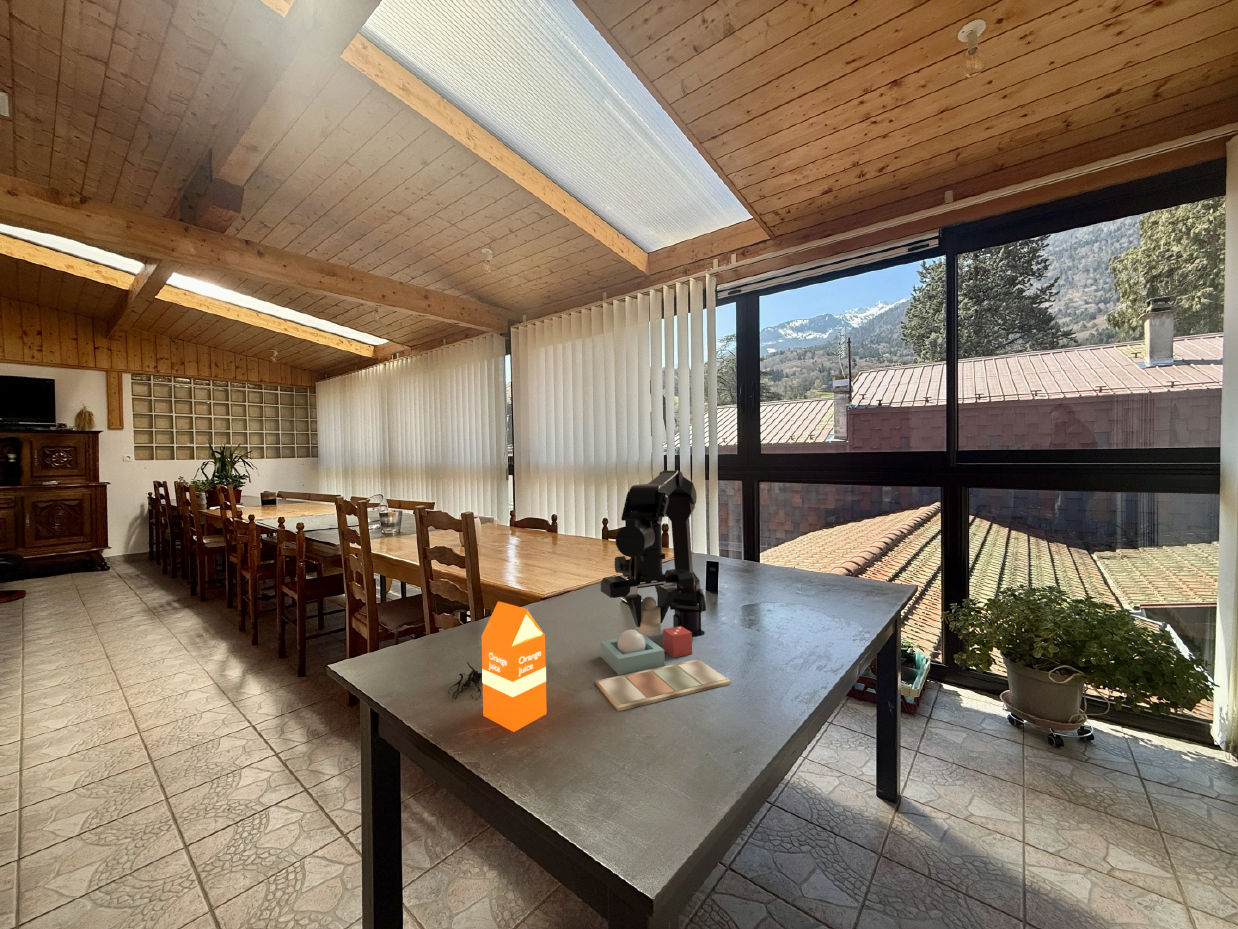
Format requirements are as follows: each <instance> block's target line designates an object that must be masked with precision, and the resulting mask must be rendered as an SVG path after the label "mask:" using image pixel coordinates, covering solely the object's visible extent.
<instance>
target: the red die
mask: <svg viewBox="0 0 1238 929" xmlns="http://www.w3.org/2000/svg"><path fill="white" fill-rule="evenodd" d="M662 649H664V652H665V653H667V654H668V655H669V656H671V657H672V658H678V657H681V656H682V657H683V656H688V655H692V654H693V636H692V632H690V631H688V630H687V629H685V628H683V627H682V626H678V627H673V626H672V627H668V628H663V629H662Z"/></svg>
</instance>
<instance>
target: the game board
mask: <svg viewBox="0 0 1238 929" xmlns="http://www.w3.org/2000/svg"><path fill="white" fill-rule="evenodd" d="M594 683H595V685H596V686H597V687H598V689H599V690H600V691H601V693H603V695H604V696H605V697H606V698H607V700H608V701H609V702H610V703H611V705H612V706H614V708H615V709H616V710H617V712H620V711H624V710H628V709H629V710H630V709H632V708H638V707H642V706H646V705H649V704H653V703H659V702H662V701H665V700H671V699H674V698H678V697H682V696H686V695H691V694H695V693H699V692H704V691H707V690H712V689H717V688H719V687H724V686H728V685H731V684H732V680H731V679H729V678H728V677H726V676H725V675H723V674H721V673H720V672H719V671H717V670H716V669H714V668H713V667H711V666H710V665H708V664H707V663H706V662H703V661H702V660H701V659H700V658H698V659H691V660H689V661H683V662H678V663H673V664H670V665H665V666H661V667H656V668H651V669H647V670H642V671H637V672H632V673H628V674H623V675H617V676H613V677H612V676H611V677H608V678H603V679H602V678H601V679H598V680H595V681H594Z"/></svg>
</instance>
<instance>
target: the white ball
mask: <svg viewBox="0 0 1238 929" xmlns="http://www.w3.org/2000/svg"><path fill="white" fill-rule="evenodd" d="M618 638H619V639H618V650H619V651H620V652H621V653H622V654H623V655H624V654H629V653H634V652H639V651H644V650H645V646H646V643H645V639H644V637H643V635H642V634H640V633H639V632H638V630H636V629H627V630H625V631H623V632H622V633H621V634H620V636H619V637H618Z"/></svg>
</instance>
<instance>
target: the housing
mask: <svg viewBox="0 0 1238 929" xmlns="http://www.w3.org/2000/svg"><path fill="white" fill-rule="evenodd" d="M642 635H643V634H642ZM643 637H644V639H645V643H646V646H645V650H644V651H639V652H634V653H629V654H624V655H623V654H622V653H621V652H620V651H619V650H618V639H619V637H618V638H611V639H607V640H602V641H600V644H599V645H600V657H601V658H602V659H603V661H605V662H606V664H608V666H610V668H612V670H614V672H616V673H617V675H618V676H621V675H626V674H630V673H635V672H640V671H645V670H649V669H654V668H659V667H664V666H666V664H665V662H666V660H665V651H664V649H663V647H661V646H660V645H658V644H657V643H655V642H654V641H653V640H651V639H650V638H649V637H648V636H647V635H643Z"/></svg>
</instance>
